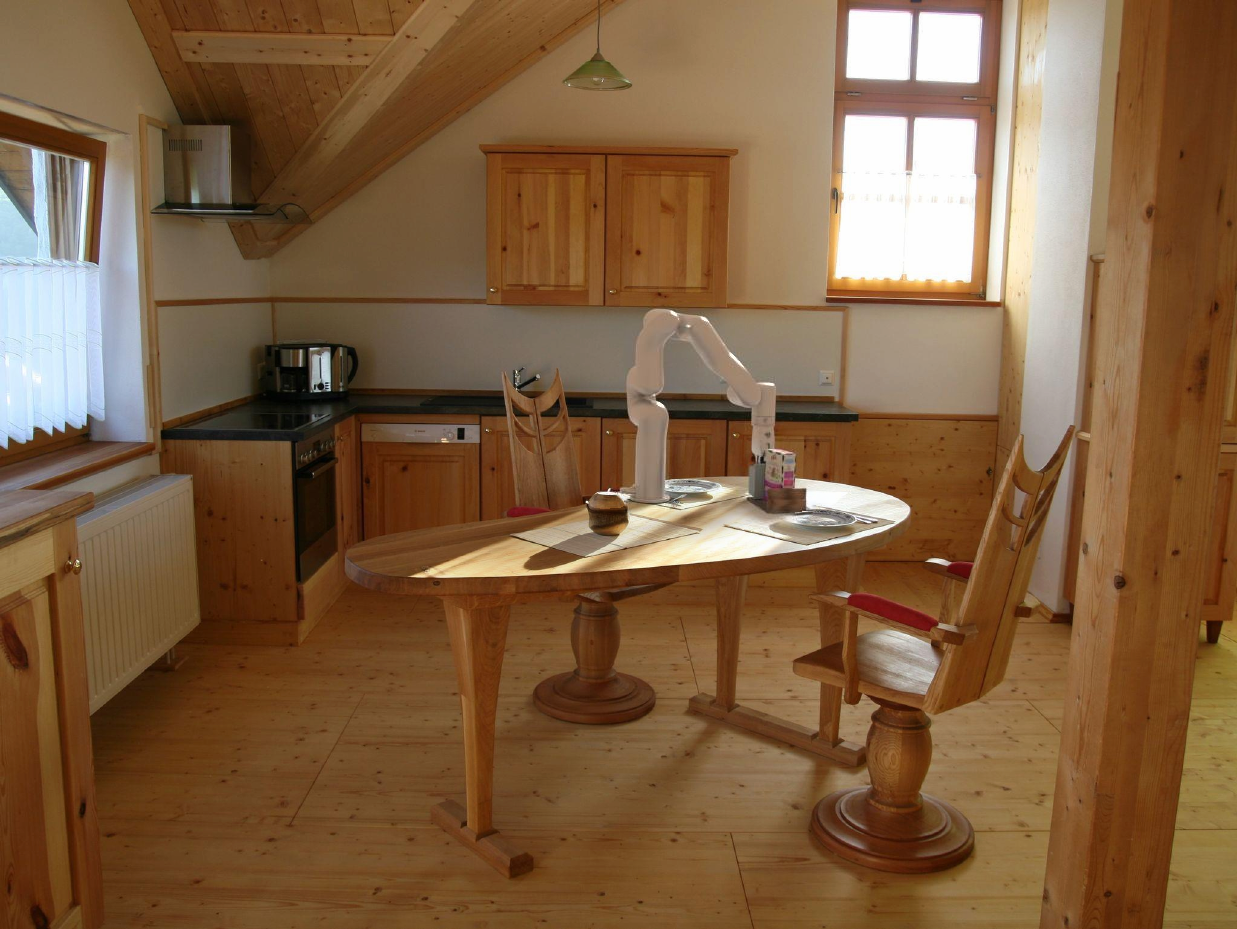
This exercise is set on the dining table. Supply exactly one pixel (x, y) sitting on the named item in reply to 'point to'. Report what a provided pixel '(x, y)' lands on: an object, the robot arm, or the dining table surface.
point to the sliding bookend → (757, 481)
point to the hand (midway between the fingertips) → (761, 476)
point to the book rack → (782, 501)
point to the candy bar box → (779, 469)
